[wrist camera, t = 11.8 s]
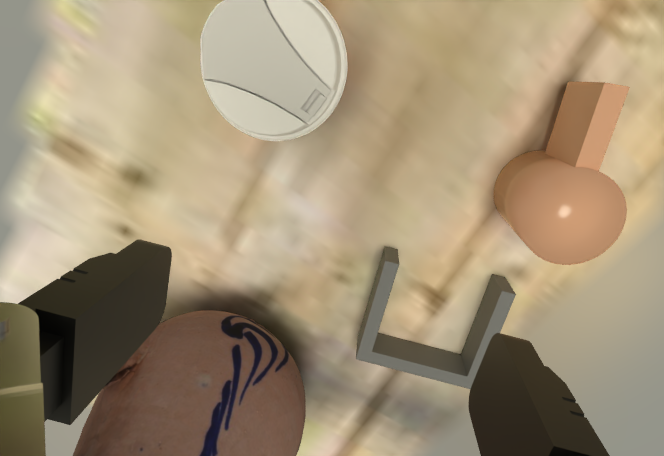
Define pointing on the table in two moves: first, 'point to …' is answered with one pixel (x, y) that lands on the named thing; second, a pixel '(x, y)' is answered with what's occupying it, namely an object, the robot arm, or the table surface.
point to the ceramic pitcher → (200, 394)
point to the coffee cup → (273, 65)
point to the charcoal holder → (425, 357)
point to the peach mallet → (568, 181)
